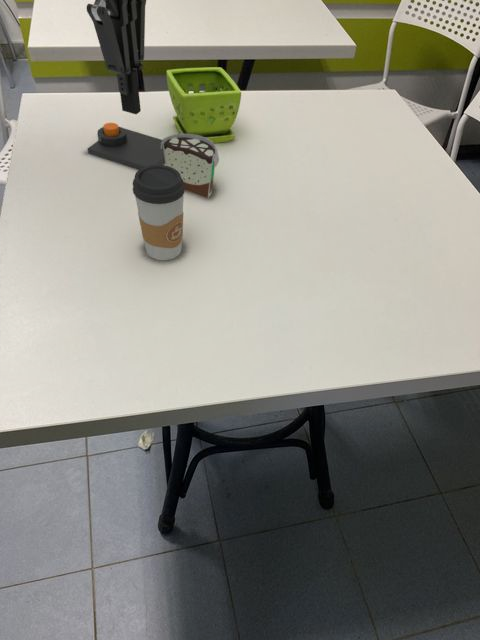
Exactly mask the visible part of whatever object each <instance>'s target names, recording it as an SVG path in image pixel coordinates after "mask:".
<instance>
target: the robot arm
mask: <svg viewBox="0 0 480 640" xmlns="http://www.w3.org/2000/svg"><path fill="white" fill-rule="evenodd" d="M146 5H147V0H94V2H93V4H92V3H87V4H86V12H87V14H88V16H89V18H90V20H91V21H92V23H93V26H94V27H93V28H94V30H95V33H96V37H97V40H98V43H99V47H100V50H101V53H102V57H103V61H104V65H105V67H106V69H107V71H109V72H113V73H116V77H117V86H118V91H119V96H120V104H121V111H122V112H125V113H126V112H127V113H129V114H133V115H138V114H139V113H140V112H141V111H142V109H141V100H140V89H139V78H138V77H139V75H138V70H139V71H142V70H143V68H144V64H141V63H140V62H144V61H145V43H146V42H145V41H146V40H145V37H146V36H145V35H146V34H145V33H146Z"/></svg>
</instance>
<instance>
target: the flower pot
mask: <svg viewBox="0 0 480 640" xmlns="http://www.w3.org/2000/svg"><path fill="white" fill-rule="evenodd" d="M166 82H167V89H168V93H169V98H170V101H171V104H172V106H173V109H174V111H175V114H176V115H174V116H172V120H173V121H174V124H175V125H176V127H177V130H178V131H179V134H194V135H199V136H202V137H205V138H207V139H209V140H210V141H212V142H213V143H214V144H217V143H218V144H219V143H229V142H230V141H232V140H233V139H235V133H234V132H233V130H232V129H231V128H232V127H233V125H234V123H235V121H236V118H237V116H238V113H239V110H240V105H241V100H242V91H241V89H240V88H239V86H238V85H237V83H236V82H235V81H234V79H232V77H231V76H230V75H229V74H228V73H227V72H226V70H225V69H224V68H223V67H219V66H214V67H213V66H212V67H211V66H209V67H185V68H173V69H167V70H166ZM211 84H212V85H211ZM190 85H191V86H190ZM200 86H204V90H203V91H200ZM190 92H192V93H190Z"/></svg>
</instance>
